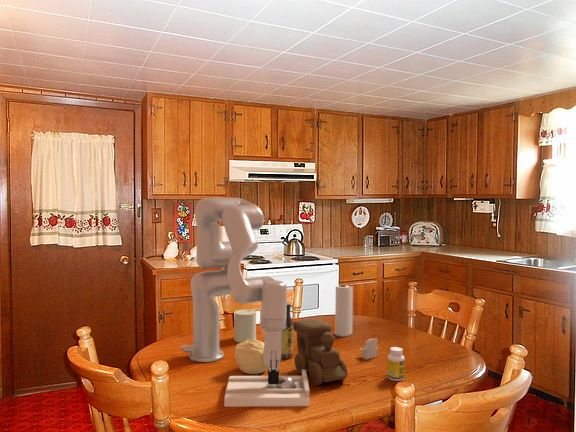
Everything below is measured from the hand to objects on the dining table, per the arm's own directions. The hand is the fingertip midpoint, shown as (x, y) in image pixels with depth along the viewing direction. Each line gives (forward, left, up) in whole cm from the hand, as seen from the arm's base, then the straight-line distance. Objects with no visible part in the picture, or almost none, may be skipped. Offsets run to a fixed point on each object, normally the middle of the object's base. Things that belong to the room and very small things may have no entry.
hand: (273, 383), depth 138 cm
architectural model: (+36, +32, -4) cm, 48 cm away
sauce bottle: (+4, +33, -4) cm, 33 cm away
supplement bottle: (+40, +12, -4) cm, 42 cm away
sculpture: (-7, +19, -4) cm, 21 cm away
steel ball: (+4, +1, -1) cm, 4 cm away
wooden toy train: (+15, +14, -4) cm, 21 cm away
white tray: (-2, 0, -3) cm, 4 cm away
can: (-12, +54, -4) cm, 55 cm away
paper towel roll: (+30, +60, -4) cm, 67 cm away
